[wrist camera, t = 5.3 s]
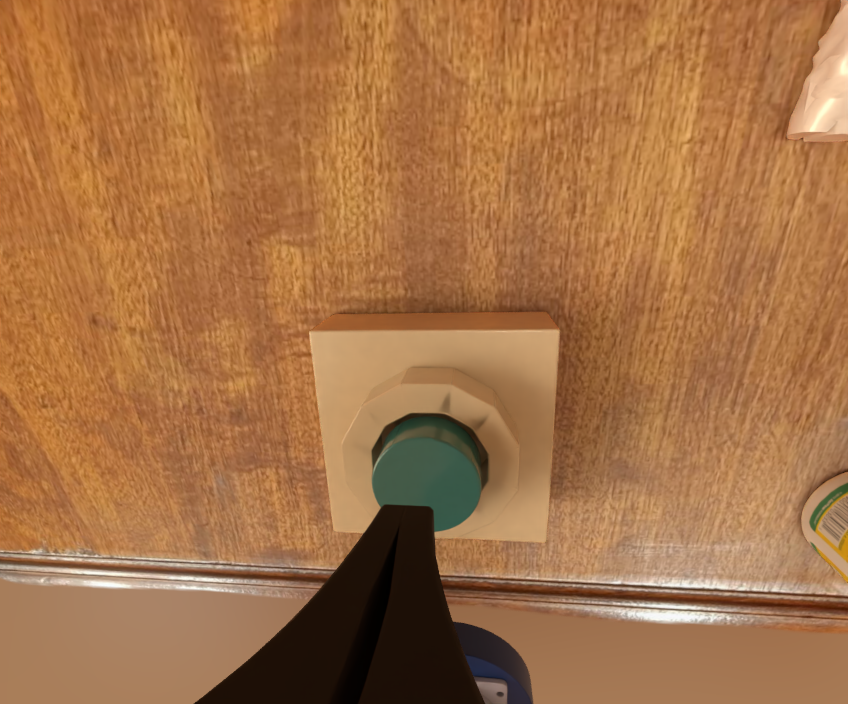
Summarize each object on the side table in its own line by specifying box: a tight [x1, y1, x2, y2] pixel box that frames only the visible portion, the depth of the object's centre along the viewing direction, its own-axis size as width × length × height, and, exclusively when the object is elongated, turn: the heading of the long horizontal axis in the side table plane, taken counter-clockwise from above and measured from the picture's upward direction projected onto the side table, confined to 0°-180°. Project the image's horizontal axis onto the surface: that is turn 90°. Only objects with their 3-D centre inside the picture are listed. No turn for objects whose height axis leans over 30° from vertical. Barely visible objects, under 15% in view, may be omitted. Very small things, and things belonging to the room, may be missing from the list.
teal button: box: [372, 416, 482, 532], centre depth 16 cm, size 4×4×2 cm
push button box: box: [309, 312, 560, 543], centre depth 19 cm, size 10×10×5 cm
